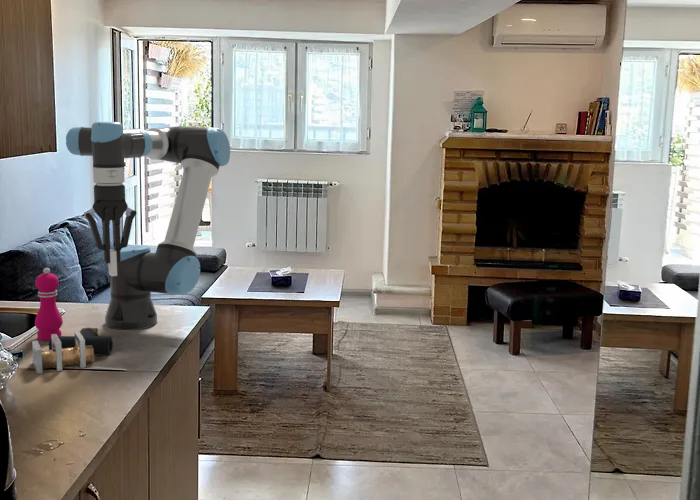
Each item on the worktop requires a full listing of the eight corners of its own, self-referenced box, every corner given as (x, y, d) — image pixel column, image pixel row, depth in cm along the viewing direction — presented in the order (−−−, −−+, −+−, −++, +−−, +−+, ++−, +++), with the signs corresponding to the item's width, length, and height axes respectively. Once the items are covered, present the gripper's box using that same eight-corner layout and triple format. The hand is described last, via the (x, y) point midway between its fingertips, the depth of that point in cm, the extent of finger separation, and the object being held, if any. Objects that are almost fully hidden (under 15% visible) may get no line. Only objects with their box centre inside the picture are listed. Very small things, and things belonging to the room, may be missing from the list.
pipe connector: (61, 325, 202) (118, 326, 203) (62, 344, 203) (118, 344, 204) (48, 339, 191) (107, 339, 192) (49, 358, 192) (108, 358, 193)
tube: (91, 361, 191) (90, 343, 190) (94, 363, 187) (93, 345, 187) (41, 367, 185) (40, 349, 185) (43, 370, 181) (42, 351, 181)
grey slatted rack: (79, 357, 192) (78, 330, 191) (85, 367, 184) (84, 339, 183) (32, 362, 186) (31, 335, 185) (37, 374, 179) (36, 345, 177)
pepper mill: (65, 333, 212) (62, 265, 208) (61, 341, 205) (58, 270, 201) (38, 334, 210) (35, 265, 207) (33, 341, 203) (29, 270, 200)
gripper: (85, 186, 180) (90, 280, 184) (139, 184, 187) (142, 275, 191) (79, 183, 186) (83, 274, 191) (131, 181, 193) (134, 269, 197)
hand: (112, 275), depth 191 cm, fingers closed
